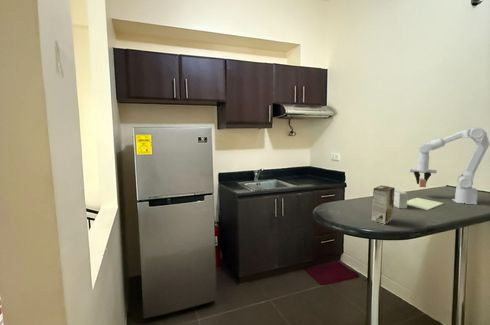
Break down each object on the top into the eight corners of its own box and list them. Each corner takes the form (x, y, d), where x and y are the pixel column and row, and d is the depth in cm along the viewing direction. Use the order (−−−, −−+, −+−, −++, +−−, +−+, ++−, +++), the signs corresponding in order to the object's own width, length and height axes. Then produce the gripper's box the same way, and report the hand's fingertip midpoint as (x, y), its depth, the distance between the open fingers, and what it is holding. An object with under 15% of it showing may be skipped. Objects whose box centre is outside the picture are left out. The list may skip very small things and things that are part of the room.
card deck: (422, 185, 165) (422, 178, 165) (425, 187, 159) (426, 180, 159) (416, 184, 166) (417, 178, 166) (419, 187, 160) (420, 180, 160)
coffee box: (378, 216, 127) (380, 185, 125) (392, 220, 122) (395, 187, 120) (370, 221, 121) (373, 187, 119) (385, 225, 116) (387, 190, 114)
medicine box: (407, 208, 139) (408, 193, 138) (398, 208, 140) (400, 193, 138) (398, 204, 147) (399, 189, 146) (390, 204, 147) (391, 189, 146)
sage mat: (416, 198, 159) (416, 197, 159) (443, 204, 148) (443, 203, 148) (400, 203, 149) (400, 202, 149) (428, 210, 137) (428, 209, 137)
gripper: (434, 162, 162) (432, 183, 164) (408, 161, 167) (406, 181, 169) (438, 163, 156) (436, 185, 158) (411, 162, 160) (409, 184, 162)
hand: (421, 183), depth 163 cm, fingers closed on card deck, 3 cm apart
